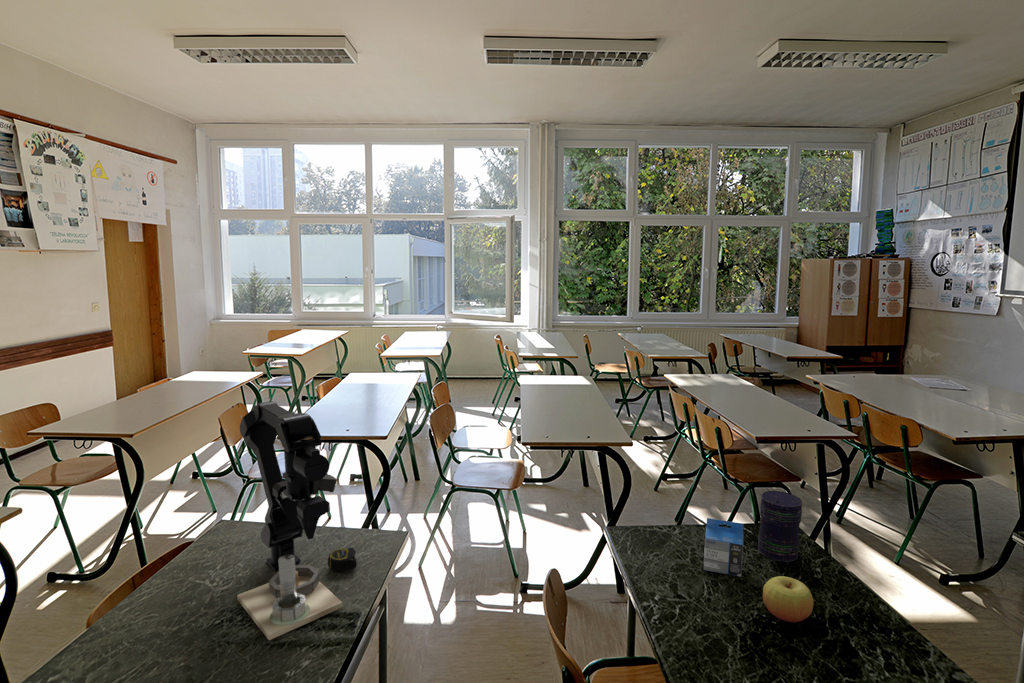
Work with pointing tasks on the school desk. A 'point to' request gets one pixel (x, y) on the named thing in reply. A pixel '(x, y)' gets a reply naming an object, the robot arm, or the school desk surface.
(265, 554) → the school desk surface
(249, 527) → the school desk surface
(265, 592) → the gear board
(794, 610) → the apple
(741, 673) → the school desk surface
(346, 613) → the school desk surface
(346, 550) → the tape measure
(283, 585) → the gear
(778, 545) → the storage jar
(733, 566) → the label tape box
